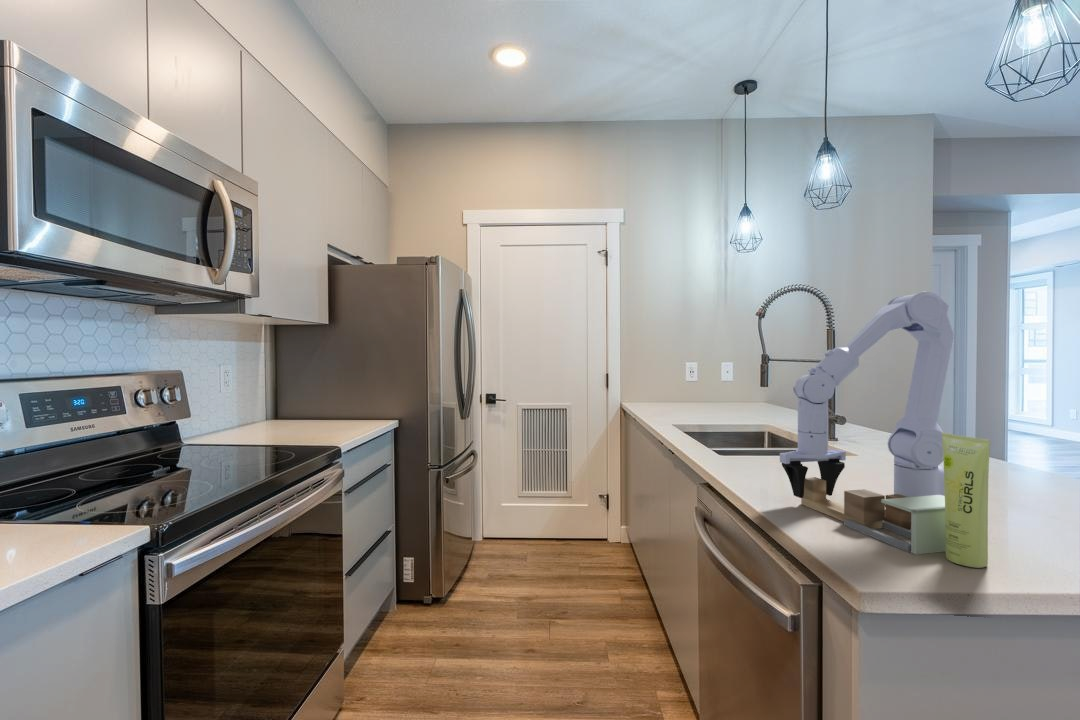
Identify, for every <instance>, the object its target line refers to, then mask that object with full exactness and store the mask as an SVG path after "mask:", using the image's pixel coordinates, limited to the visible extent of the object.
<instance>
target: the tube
mask: <svg viewBox="0 0 1080 720" xmlns="http://www.w3.org/2000/svg"><path fill="white" fill-rule="evenodd" d="M942 443H943V468H944V489H945V530H946V551H945V558H946V559H947V560H948V561H950V562H951V563H954V564H957V565H959V566H963V567H969V568H973V569H979V568H981V569H982V568H985V567H987V566H988V564H989V561H988V560H989V543H988V542H989V537H988V535H989V534H988V533H989V531H988V530H989V527H988V526H989V520H988V518H989V517H988V516H989V514H988V513H989V511H988V510H989V471H990V469H989V467H990V453H991V452H990V451H991V449H990V448H991V439H986V438H980V437H979V438H978V437H973V436H972V437H971V436H965V435H959V434H952V433H946V432H943V433H942Z"/></svg>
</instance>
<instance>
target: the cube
mask: <svg viewBox="0 0 1080 720" xmlns="http://www.w3.org/2000/svg"><path fill="white" fill-rule="evenodd" d="M843 496H844V498H843V500H844V501H843V503H844V504H843V505H844V514H845V515H847V516H850V517H852V518H855V519H857V520H860V521H862V522H871V521H882V520H885V510H886V504H885V503H882V502H881V500H882V499H886V495H883V494H881V493H877V492H874V491H871V490H867V489H853V490H843Z"/></svg>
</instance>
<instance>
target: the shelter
mask: <svg viewBox="0 0 1080 720" xmlns="http://www.w3.org/2000/svg"><path fill="white" fill-rule="evenodd" d="M881 502H882V503H885V505H886V504H888V505H890V506H893V507H896V508H899V509H902V510H905V511H908V512H911V538H910V541H911V543H910V544H911V552H910V553H912V554H914V555H922V554H930V553H931V554H933V553H941V552H946V530H945V496H943V495H931V496H918V497H906V498H894V499H886V498H885V499H882V500H881Z"/></svg>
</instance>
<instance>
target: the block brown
mask: <svg viewBox="0 0 1080 720" xmlns="http://www.w3.org/2000/svg"><path fill="white" fill-rule="evenodd" d="M906 497H907V496H904V495H900V494H894V493H892V494H886V495H885V499H894V498H906ZM884 521H887V522H889V523H892V524H895V525H897V526H900V527H903V528H905V529H908V530H910V526H911V512H908V511H905V510H902V509H899V508H896V507H893V506H890V505H888V504H885V520H884Z"/></svg>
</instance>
